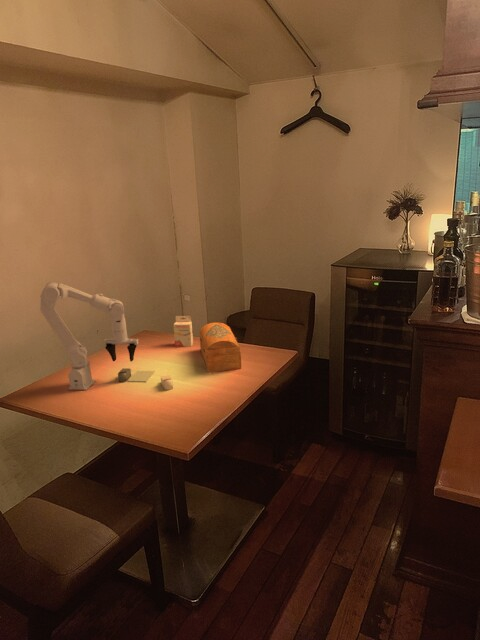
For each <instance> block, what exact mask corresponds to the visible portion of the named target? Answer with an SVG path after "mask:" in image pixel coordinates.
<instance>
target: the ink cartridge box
mask: <svg viewBox="0 0 480 640" xmlns="http://www.w3.org/2000/svg"><path fill="white" fill-rule="evenodd" d="M174 320H175V322H174V323H173V334H174V335H173V336H174V346H175V347H192V346H193V344H194V336H193V335H194V334H193V325H192V324H193V322H192V317H191V316H190V315H176V316H175V319H174Z"/></svg>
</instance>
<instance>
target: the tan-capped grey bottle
mask: <svg viewBox="0 0 480 640" xmlns="http://www.w3.org/2000/svg"><path fill="white" fill-rule="evenodd" d="M132 372H133V371H132V369H131V368H122V369H120V370H119V371H118V373H117V378H118V379H117V380H118V382H119V383H126V382H128V380H129V379H130V378H131V377H132Z"/></svg>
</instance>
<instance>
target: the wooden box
mask: <svg viewBox="0 0 480 640" xmlns="http://www.w3.org/2000/svg"><path fill="white" fill-rule="evenodd" d="M199 347H200V352H201V355H202V358H203V360H204V364H205V367H206V370H207V373H214V372H223V371H231V370H241V369H242V355H241V354H242V353H241V349H240V348H241V347H240V345H239V343H238V338H237V337H235V334H234V333H233V331H232V328H231V327H230V326H228V325H227V324H226V323H223V322H210V323H207V324H205V325H203V326H202V327H201V328H200V329H199Z"/></svg>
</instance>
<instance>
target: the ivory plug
mask: <svg viewBox="0 0 480 640" xmlns="http://www.w3.org/2000/svg"><path fill="white" fill-rule="evenodd" d="M160 382H161V387H162V388H163V389H164V391H171V390H173V388H174V384H173V378H172V377H171V375H168V374H167V375H162V376H160Z"/></svg>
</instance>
